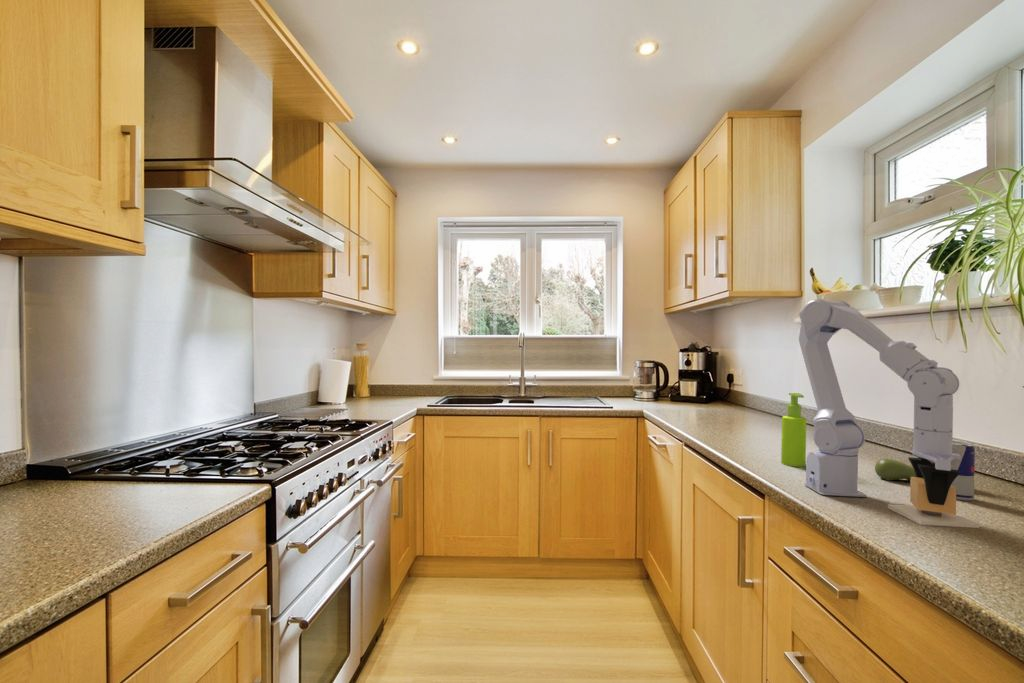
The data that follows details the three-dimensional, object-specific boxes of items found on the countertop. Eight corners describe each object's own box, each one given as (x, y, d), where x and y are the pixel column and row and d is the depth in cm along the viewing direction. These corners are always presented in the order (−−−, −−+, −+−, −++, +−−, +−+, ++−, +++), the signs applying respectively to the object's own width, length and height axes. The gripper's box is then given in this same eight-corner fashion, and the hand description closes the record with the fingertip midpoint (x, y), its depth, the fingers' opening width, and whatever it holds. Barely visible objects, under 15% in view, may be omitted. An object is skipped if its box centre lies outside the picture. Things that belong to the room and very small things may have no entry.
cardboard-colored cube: (917, 509, 92) (917, 483, 92) (910, 501, 97) (910, 476, 97) (955, 514, 89) (956, 488, 89) (946, 506, 94) (946, 480, 94)
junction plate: (920, 524, 89) (921, 501, 89) (888, 508, 98) (888, 487, 98) (979, 527, 88) (979, 504, 88) (940, 510, 97) (941, 489, 97)
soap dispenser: (787, 467, 131) (788, 394, 131) (777, 461, 138) (779, 391, 138) (811, 468, 130) (812, 394, 130) (800, 462, 137) (801, 392, 137)
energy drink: (980, 502, 103) (981, 446, 103) (951, 500, 104) (952, 445, 104) (962, 494, 109) (963, 441, 109) (935, 492, 110) (936, 440, 110)
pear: (874, 454, 124) (920, 464, 120) (869, 474, 124) (916, 485, 121) (882, 458, 118) (931, 469, 115) (877, 479, 119) (926, 491, 115)
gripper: (973, 438, 85) (972, 514, 85) (948, 426, 98) (947, 492, 98) (922, 433, 88) (921, 507, 88) (904, 423, 101) (903, 487, 101)
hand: (931, 499), depth 93 cm, fingers closed on cardboard-colored cube, 6 cm apart
